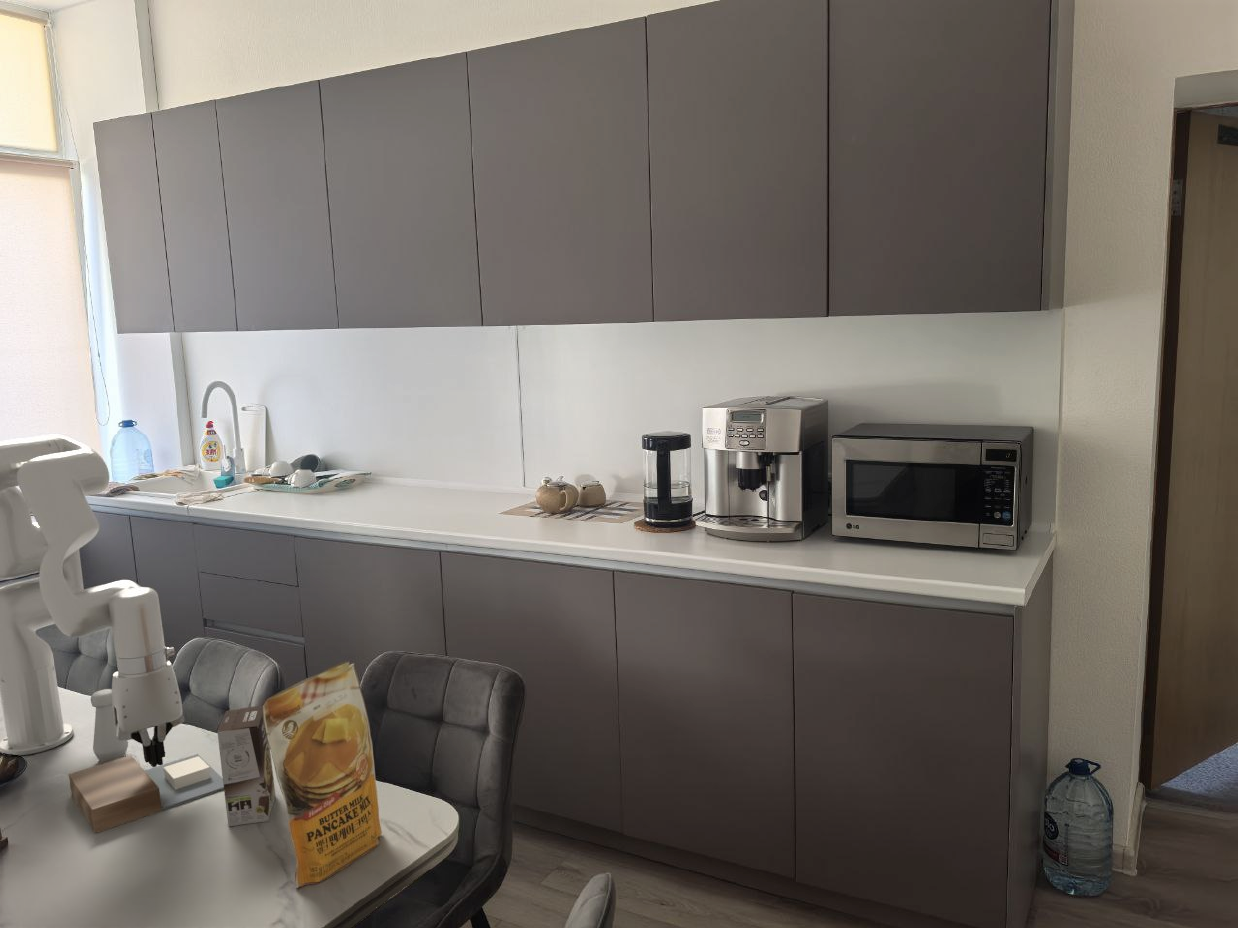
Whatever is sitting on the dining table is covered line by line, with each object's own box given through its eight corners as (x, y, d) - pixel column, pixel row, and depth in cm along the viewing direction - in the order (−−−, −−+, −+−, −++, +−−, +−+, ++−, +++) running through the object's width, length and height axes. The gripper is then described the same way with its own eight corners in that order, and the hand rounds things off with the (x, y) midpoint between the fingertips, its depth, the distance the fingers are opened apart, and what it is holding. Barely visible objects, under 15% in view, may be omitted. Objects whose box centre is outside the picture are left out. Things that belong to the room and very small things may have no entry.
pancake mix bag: (267, 885, 141) (245, 698, 137) (368, 823, 157) (351, 653, 152) (298, 899, 138) (277, 707, 133) (399, 834, 153) (383, 660, 149)
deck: (71, 795, 171) (68, 773, 171) (134, 775, 177) (131, 754, 177) (95, 832, 158) (92, 809, 158) (162, 810, 164) (159, 787, 164)
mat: (135, 775, 178) (135, 773, 178) (198, 755, 184) (197, 753, 184) (163, 809, 165) (163, 807, 165) (229, 787, 171) (229, 785, 171)
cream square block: (198, 755, 179) (200, 766, 179) (163, 767, 175) (164, 777, 175) (209, 766, 174) (211, 777, 174) (173, 778, 170) (175, 789, 171)
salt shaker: (131, 759, 184) (122, 692, 182) (97, 768, 181) (87, 700, 179) (126, 748, 189) (117, 683, 187) (93, 757, 186) (83, 690, 184)
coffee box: (269, 821, 159) (258, 725, 157) (227, 827, 158) (215, 731, 155) (276, 794, 168) (266, 703, 165) (236, 800, 167) (225, 708, 164)
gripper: (181, 644, 176) (193, 742, 179) (87, 667, 167) (102, 770, 170) (194, 655, 170) (207, 756, 173) (98, 679, 161) (113, 785, 164)
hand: (155, 763), depth 171 cm, fingers closed
